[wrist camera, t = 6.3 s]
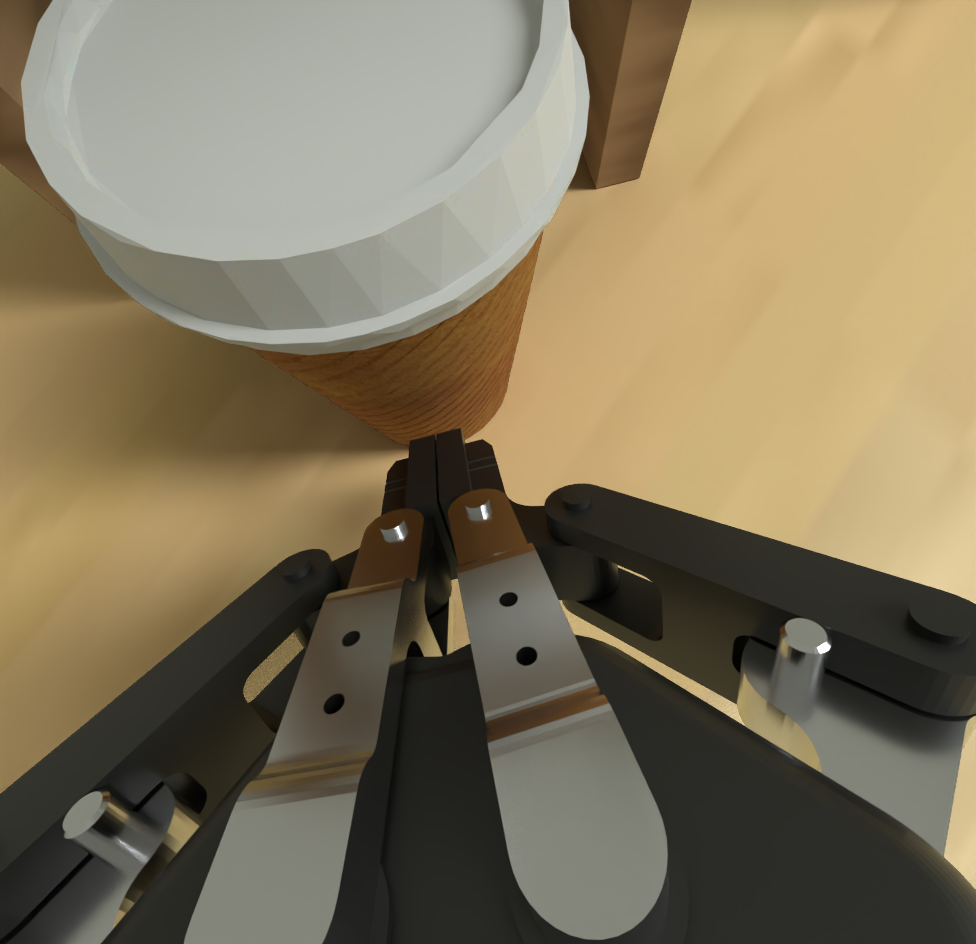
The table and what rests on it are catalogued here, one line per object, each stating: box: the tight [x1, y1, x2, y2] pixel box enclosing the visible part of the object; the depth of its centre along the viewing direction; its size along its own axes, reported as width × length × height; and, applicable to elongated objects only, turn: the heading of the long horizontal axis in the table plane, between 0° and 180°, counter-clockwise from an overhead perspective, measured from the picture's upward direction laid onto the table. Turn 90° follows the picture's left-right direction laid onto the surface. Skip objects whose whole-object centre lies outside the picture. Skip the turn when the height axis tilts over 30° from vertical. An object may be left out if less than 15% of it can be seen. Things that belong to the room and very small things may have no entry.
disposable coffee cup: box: [21, 0, 590, 446], centre depth 13 cm, size 10×10×12 cm
